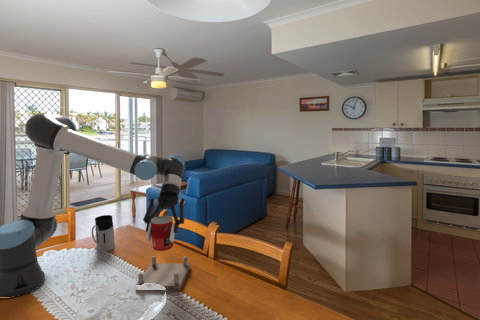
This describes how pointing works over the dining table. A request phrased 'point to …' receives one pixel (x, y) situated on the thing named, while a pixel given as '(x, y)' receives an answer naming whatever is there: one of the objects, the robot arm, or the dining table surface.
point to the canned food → (161, 233)
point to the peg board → (166, 274)
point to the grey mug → (104, 233)
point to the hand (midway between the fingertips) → (159, 240)
